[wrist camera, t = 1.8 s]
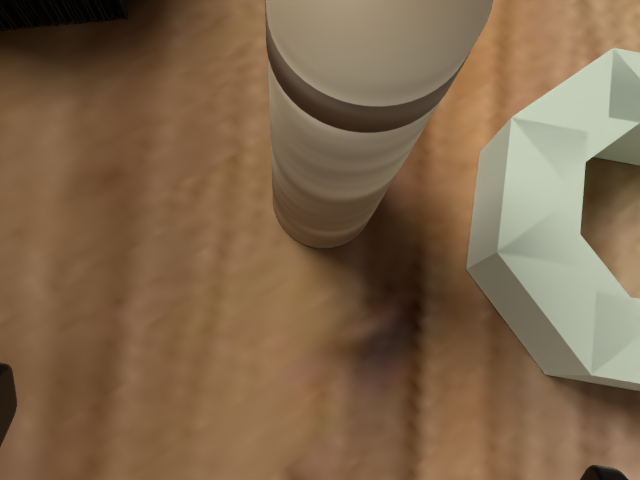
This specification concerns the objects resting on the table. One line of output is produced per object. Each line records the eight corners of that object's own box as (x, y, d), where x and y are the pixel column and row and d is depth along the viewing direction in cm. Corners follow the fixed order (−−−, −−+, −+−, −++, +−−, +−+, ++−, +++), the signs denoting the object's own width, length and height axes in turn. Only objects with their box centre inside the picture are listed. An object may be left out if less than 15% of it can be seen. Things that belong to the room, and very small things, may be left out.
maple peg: (393, 212, 24) (542, 5, 11) (310, 268, 24) (355, 126, 10) (334, 133, 25) (403, -161, 11) (252, 186, 24) (217, -58, 10)
